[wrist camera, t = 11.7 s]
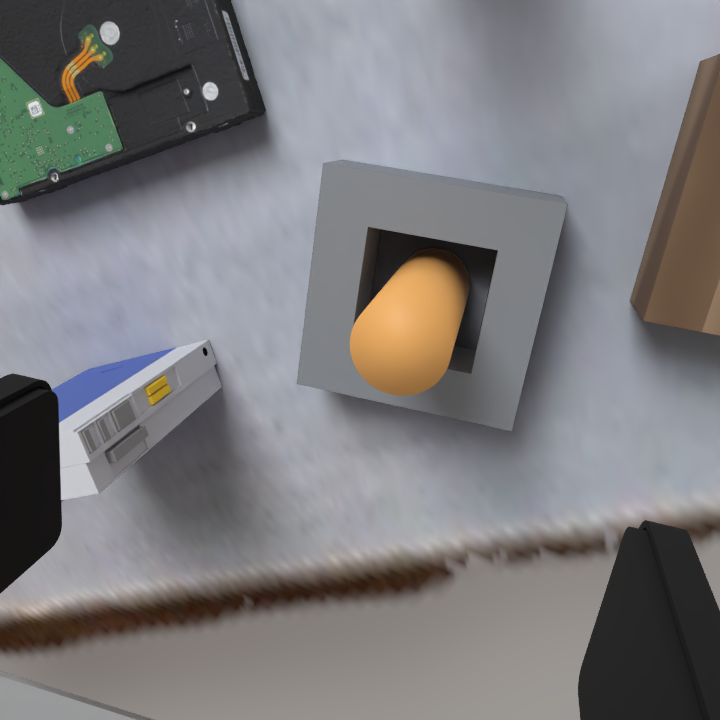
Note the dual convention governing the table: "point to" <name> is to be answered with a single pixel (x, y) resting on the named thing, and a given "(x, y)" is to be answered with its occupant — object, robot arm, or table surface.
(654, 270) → the block
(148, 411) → the walkman
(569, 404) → the table surface
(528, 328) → the socket block
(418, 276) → the pin
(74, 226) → the table surface
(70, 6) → the disk drive
